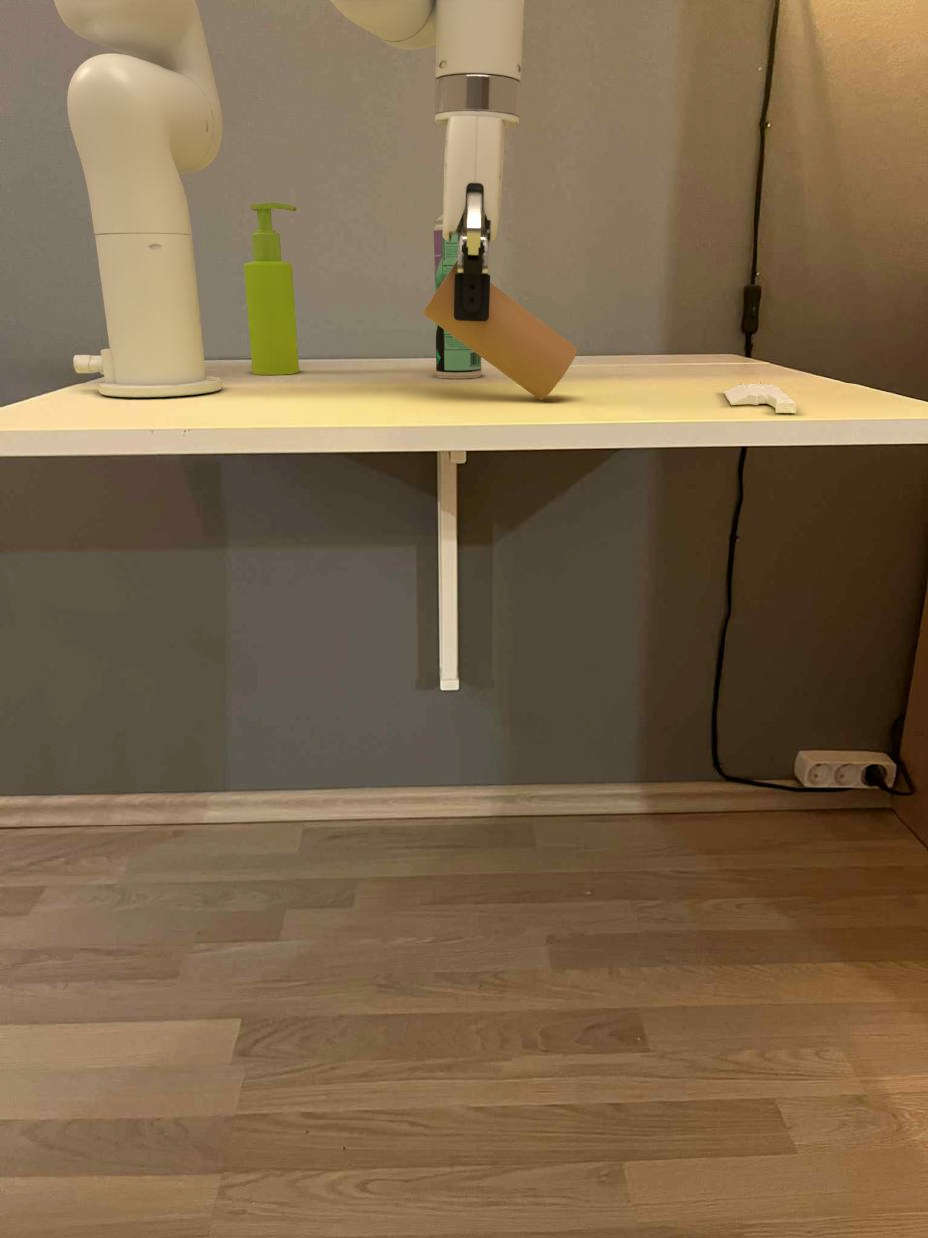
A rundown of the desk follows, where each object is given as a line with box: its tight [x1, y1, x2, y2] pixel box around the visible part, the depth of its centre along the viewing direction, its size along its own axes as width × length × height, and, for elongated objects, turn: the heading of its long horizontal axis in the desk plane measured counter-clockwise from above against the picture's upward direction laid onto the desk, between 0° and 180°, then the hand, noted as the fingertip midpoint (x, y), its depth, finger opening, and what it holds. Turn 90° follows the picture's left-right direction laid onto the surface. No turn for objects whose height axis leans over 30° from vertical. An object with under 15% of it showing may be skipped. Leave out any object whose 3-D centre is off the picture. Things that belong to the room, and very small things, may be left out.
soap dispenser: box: [243, 202, 300, 376], centre depth 119 cm, size 6×7×20 cm
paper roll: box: [422, 260, 579, 401], centre depth 91 cm, size 14×6×6 cm
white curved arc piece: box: [723, 382, 797, 414], centre depth 89 cm, size 5×15×1 cm, turn 169°
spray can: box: [433, 208, 482, 380], centre depth 112 cm, size 6×6×20 cm
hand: (471, 316), depth 90 cm, fingers closed on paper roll, 6 cm apart
